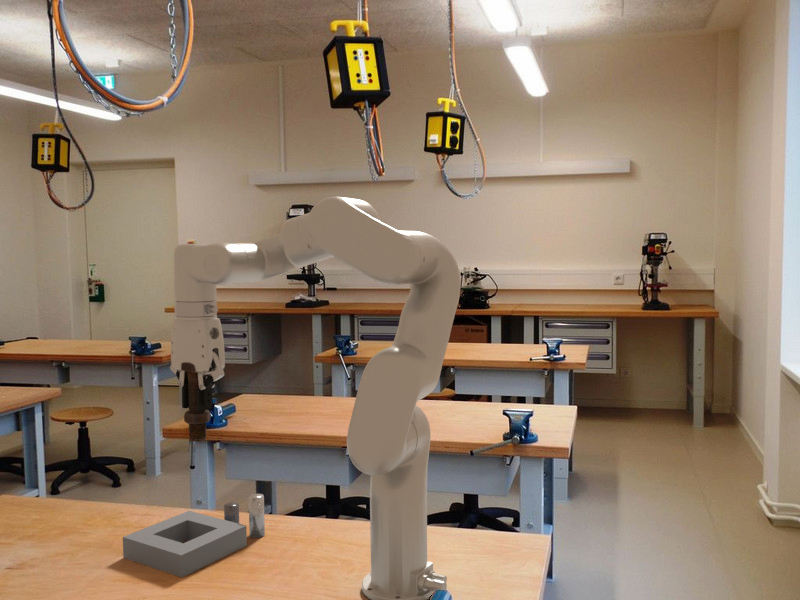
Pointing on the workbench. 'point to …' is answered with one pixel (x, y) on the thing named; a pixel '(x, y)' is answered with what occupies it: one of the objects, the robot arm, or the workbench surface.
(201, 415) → the bolt
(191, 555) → the frame
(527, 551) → the workbench surface
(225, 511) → the pin short
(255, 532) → the pin mid
